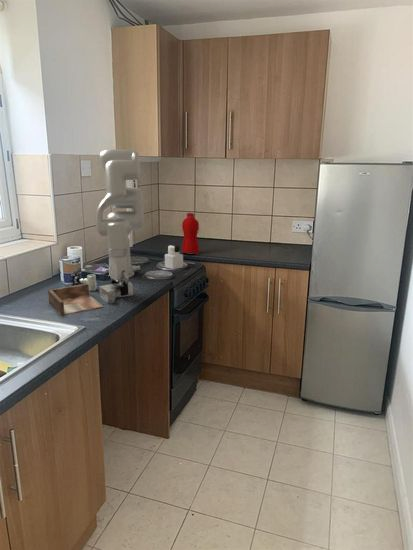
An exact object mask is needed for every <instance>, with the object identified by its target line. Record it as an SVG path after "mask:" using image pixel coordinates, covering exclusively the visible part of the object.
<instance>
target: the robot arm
mask: <svg viewBox="0 0 413 550" xmlns="http://www.w3.org/2000/svg"><path fill="white" fill-rule="evenodd" d="M99 161H100V164H101V167H102V169H103V172H104V173H105V174H104V175H105V178H104V179H105V196H104V197H103V199H102V200H101V201H100V203H99V204H98V206H97V208H96V212H95V229H96V234H97V235H98V237H100V238H107V243H108V244H107V245H108V246H107V249H108V252H107V253H108V273H109V275H108V277H109V276H110V277H109V278H110V282H111V283H110V284H116V283H120V284H121V286H120V292H121V296H124V295H128V283H129V282H130V281H129V279H130V278H132V277H134V275H135V272H134V271H139V270H141V266H140V265H132V264H131V263H132V261H131V260H132V259H131V242H130V238H129V235H130V234H131V232H137V231H138V232H140V231H142V230H143V229H144V226H145V225H144V224H145V221H144V220H145V219H144V218H145V217H144V199H143V193H142V191H141V190H140V189H139V188H137V187H127V181H130V180H131V181H135V180H138V179H139V178H140V172H141V168H140V167H141V165H140V156H139V153H138V151H136V149H104V150H102V151H100V153H99ZM108 207H111V208H113V209H133V210H131V211H130V210H129V211H127V210H120V211H119V210H117V211H111V212H109V213H107V216H106V218H105V219H104V218H103V216H104V212H105V210H106V209H107V208H108ZM122 282H123V283H122Z"/></svg>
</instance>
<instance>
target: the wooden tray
mask: <svg viewBox="0 0 413 550" xmlns="http://www.w3.org/2000/svg"><path fill="white" fill-rule="evenodd" d="M62 301H63V302H64V313H65V314H64V315H70V314H71V315H72V314H77V313H80V312H86V311H87V312H88V311H91V310H96V309H102V308H104V306H103V305H102V304H101V303H100V302H99V301H97V300H96V298H94V297H93V296H91V295H90V294H89V295H86V296H80V297H74V298H68V299H62ZM49 303H50V304H51V302H49ZM52 307H53V308H54V309H55V307H54V306H53V305H52ZM59 315H61V313H59ZM64 315H63V314H62V315H61V316H64Z"/></svg>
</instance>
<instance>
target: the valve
mask: <svg viewBox="0 0 413 550" xmlns="http://www.w3.org/2000/svg"><path fill="white" fill-rule="evenodd" d="M73 274H74V275H73ZM73 274H71V276H70V278H71V279H70V281H69V282H70V283H72V284H71V286H76V285H82V284H88V285H89V292H90V291H91V292H92V291H96V290H97V283H98V282H97V277H96V276H97V275H96V274H94V273H93V274H92V273H91V274H87V276H86V277H85V278H83V276H82V273H79V272H74V273H73Z"/></svg>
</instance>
